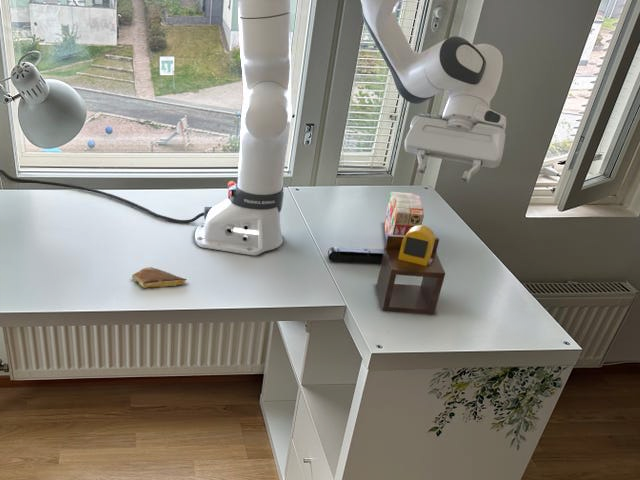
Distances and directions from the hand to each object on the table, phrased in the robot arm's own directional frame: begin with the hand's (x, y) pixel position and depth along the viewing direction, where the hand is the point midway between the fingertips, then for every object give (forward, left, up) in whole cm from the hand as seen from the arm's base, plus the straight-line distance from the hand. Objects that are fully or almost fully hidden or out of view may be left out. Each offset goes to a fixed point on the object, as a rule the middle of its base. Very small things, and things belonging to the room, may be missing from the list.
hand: (442, 176), depth 148 cm
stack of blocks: (-2, +20, -25) cm, 32 cm away
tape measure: (-5, -11, -15) cm, 19 cm away
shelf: (-5, -11, -25) cm, 27 cm away
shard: (-60, -10, -25) cm, 66 cm away
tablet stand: (-11, +7, -25) cm, 29 cm away
